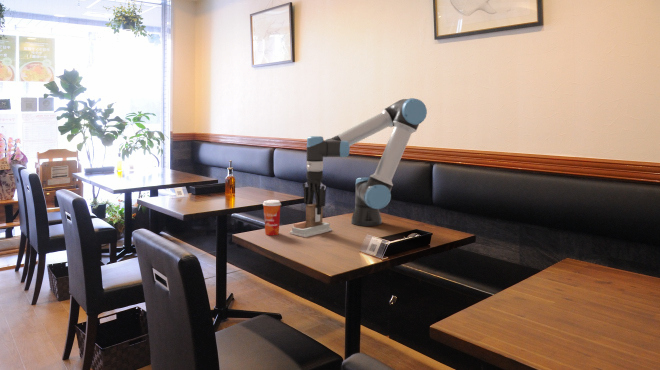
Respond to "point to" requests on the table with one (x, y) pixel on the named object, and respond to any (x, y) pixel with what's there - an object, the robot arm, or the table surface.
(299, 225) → the white rectangular tray
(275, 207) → the coffee cup
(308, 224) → the brown rectangular block
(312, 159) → the robot arm
